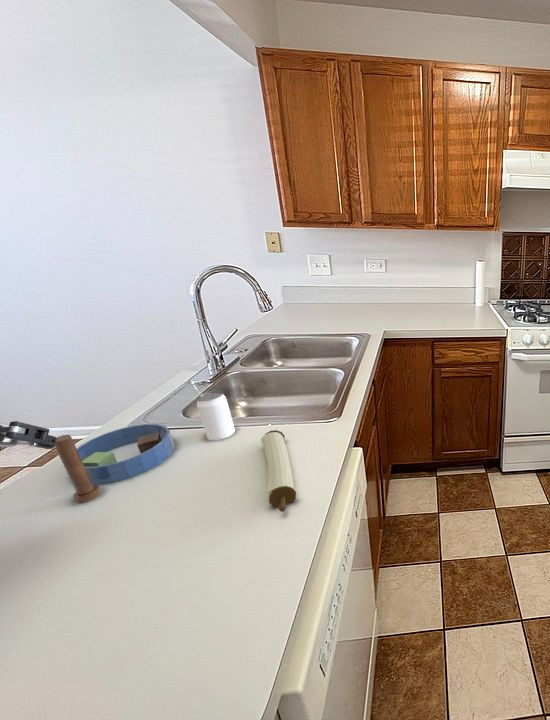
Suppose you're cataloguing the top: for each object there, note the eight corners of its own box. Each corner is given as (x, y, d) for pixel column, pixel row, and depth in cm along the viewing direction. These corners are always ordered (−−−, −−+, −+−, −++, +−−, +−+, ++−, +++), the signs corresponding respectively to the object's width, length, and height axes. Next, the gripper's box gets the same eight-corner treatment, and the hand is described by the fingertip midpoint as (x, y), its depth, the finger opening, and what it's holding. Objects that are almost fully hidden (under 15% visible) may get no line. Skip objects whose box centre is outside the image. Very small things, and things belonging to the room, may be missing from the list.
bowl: (55, 493, 85) (46, 474, 83) (106, 446, 101) (98, 429, 99) (154, 479, 89) (147, 460, 87) (187, 436, 106) (181, 419, 104)
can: (233, 426, 110) (222, 387, 106) (237, 436, 105) (226, 396, 101) (205, 434, 106) (193, 394, 102) (209, 445, 102) (196, 403, 97)
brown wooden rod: (71, 507, 81) (41, 445, 76) (84, 494, 85) (56, 434, 79) (95, 503, 82) (66, 442, 76) (106, 490, 86) (80, 431, 80)
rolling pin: (300, 514, 79) (296, 494, 77) (269, 525, 76) (264, 504, 75) (286, 437, 105) (283, 420, 103) (263, 442, 103) (258, 426, 101)
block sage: (86, 477, 89) (79, 462, 87) (101, 466, 93) (95, 452, 91) (103, 477, 89) (97, 462, 87) (118, 466, 93) (113, 452, 91)
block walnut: (142, 458, 95) (137, 444, 94) (143, 450, 98) (138, 437, 97) (163, 453, 97) (158, 439, 96) (163, 445, 100) (158, 432, 99)
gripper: (-13, 394, 59) (77, 421, 73) (-129, 401, 57) (-12, 428, 71) (-33, 444, 56) (65, 463, 71) (-155, 454, 54) (-28, 470, 69)
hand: (26, 445), depth 71 cm, fingers open, 8 cm apart
